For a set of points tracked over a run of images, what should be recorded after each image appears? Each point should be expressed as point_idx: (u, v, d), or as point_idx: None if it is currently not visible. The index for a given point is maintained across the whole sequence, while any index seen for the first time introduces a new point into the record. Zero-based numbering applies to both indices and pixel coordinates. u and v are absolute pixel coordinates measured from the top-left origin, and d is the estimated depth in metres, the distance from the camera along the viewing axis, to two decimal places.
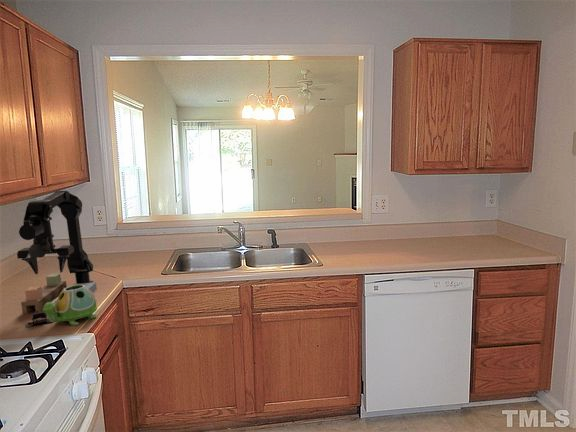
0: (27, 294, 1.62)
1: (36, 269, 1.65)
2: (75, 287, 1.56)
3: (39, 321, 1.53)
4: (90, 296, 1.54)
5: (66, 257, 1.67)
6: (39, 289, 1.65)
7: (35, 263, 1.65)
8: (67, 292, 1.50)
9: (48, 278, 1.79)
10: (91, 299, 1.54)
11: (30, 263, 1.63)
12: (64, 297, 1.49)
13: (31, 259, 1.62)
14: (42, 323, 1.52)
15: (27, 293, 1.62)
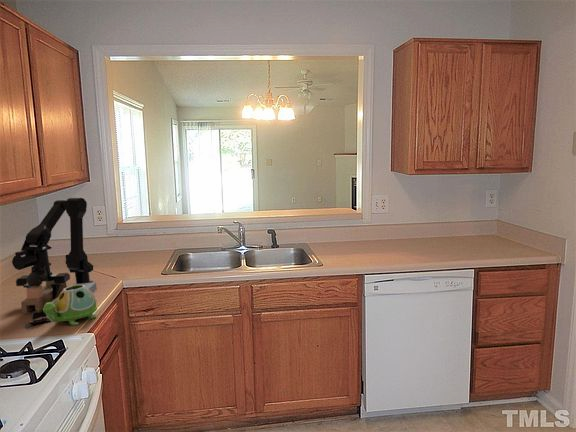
0: (28, 293, 1.63)
1: None
2: (75, 287, 1.56)
3: (39, 320, 1.53)
4: (90, 296, 1.54)
5: (59, 284, 1.75)
6: (40, 288, 1.66)
7: None
8: (67, 292, 1.50)
9: None
10: (91, 299, 1.54)
11: None
12: (64, 297, 1.49)
13: None
14: (42, 322, 1.52)
15: (28, 292, 1.63)
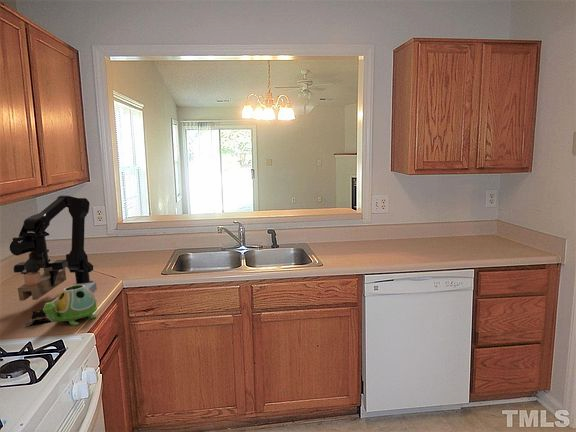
0: (25, 279, 1.63)
1: None
2: (75, 287, 1.56)
3: (38, 320, 1.53)
4: (90, 296, 1.54)
5: (57, 271, 1.74)
6: (38, 274, 1.65)
7: None
8: (67, 292, 1.50)
9: None
10: (91, 299, 1.54)
11: None
12: (64, 297, 1.49)
13: None
14: (42, 322, 1.52)
15: (25, 278, 1.62)
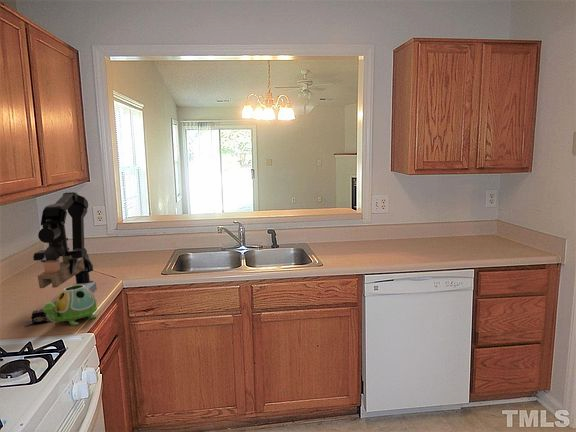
0: (45, 267, 1.62)
1: None
2: (75, 287, 1.56)
3: (38, 320, 1.54)
4: (90, 296, 1.54)
5: (76, 260, 1.74)
6: (57, 262, 1.65)
7: None
8: (67, 292, 1.50)
9: None
10: (91, 299, 1.54)
11: None
12: (64, 297, 1.49)
13: None
14: (41, 322, 1.52)
15: (45, 266, 1.62)
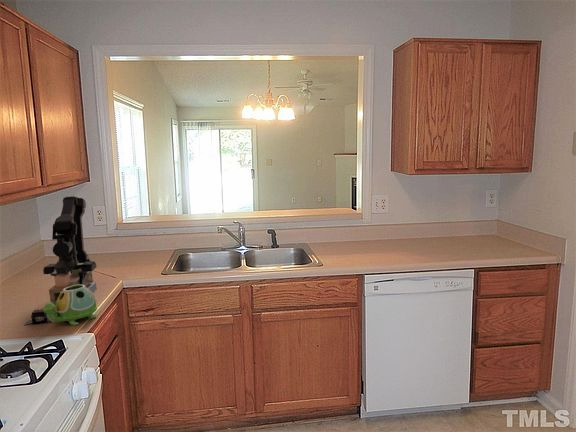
0: (56, 281, 1.64)
1: None
2: (75, 287, 1.56)
3: (38, 319, 1.54)
4: (90, 296, 1.54)
5: (86, 273, 1.75)
6: (68, 276, 1.66)
7: None
8: (67, 292, 1.50)
9: None
10: (91, 299, 1.54)
11: None
12: (64, 297, 1.49)
13: None
14: (40, 322, 1.53)
15: (56, 280, 1.64)
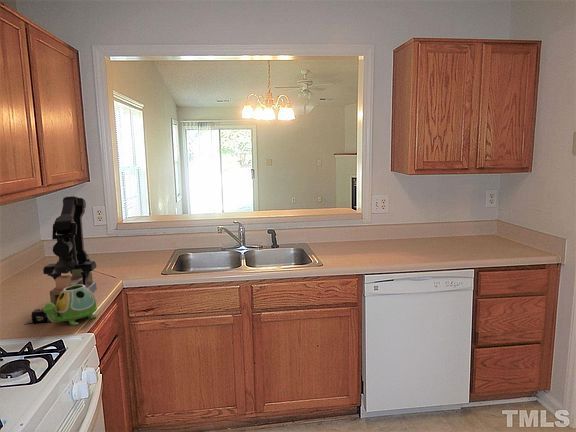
0: (57, 282, 1.64)
1: None
2: (75, 287, 1.56)
3: (39, 319, 1.54)
4: (90, 296, 1.54)
5: (89, 272, 1.75)
6: (68, 278, 1.66)
7: None
8: (67, 292, 1.50)
9: None
10: (91, 299, 1.54)
11: (55, 278, 1.71)
12: (64, 297, 1.49)
13: (56, 274, 1.71)
14: (39, 322, 1.53)
15: (57, 281, 1.64)
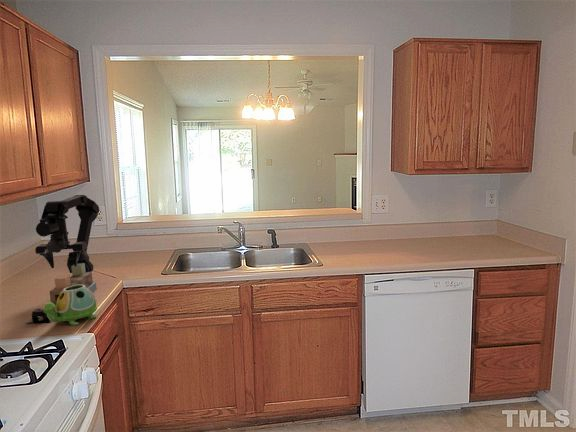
0: (56, 282, 1.64)
1: (52, 263, 1.79)
2: (75, 287, 1.56)
3: (39, 319, 1.55)
4: (90, 296, 1.54)
5: (80, 252, 1.81)
6: (68, 278, 1.66)
7: (51, 258, 1.79)
8: (67, 292, 1.50)
9: (73, 267, 1.81)
10: (91, 299, 1.54)
11: (47, 258, 1.77)
12: (64, 297, 1.49)
13: (48, 254, 1.77)
14: (39, 321, 1.53)
15: (56, 281, 1.64)
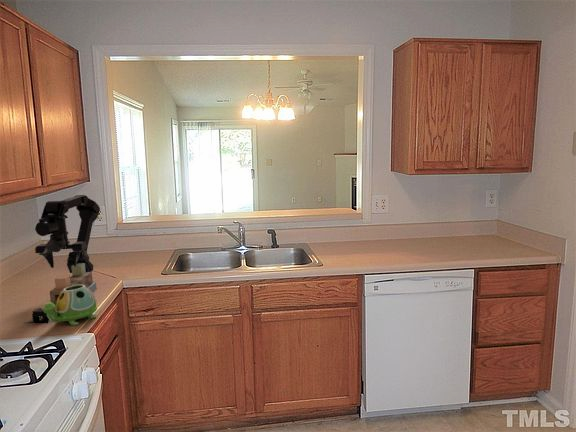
0: (56, 282, 1.64)
1: (52, 263, 1.79)
2: (75, 287, 1.56)
3: (39, 318, 1.55)
4: (90, 296, 1.54)
5: (79, 252, 1.82)
6: (68, 278, 1.66)
7: (51, 258, 1.80)
8: (67, 292, 1.50)
9: (73, 267, 1.81)
10: (91, 299, 1.54)
11: (47, 258, 1.77)
12: (64, 297, 1.49)
13: (48, 254, 1.77)
14: (39, 321, 1.53)
15: (56, 281, 1.64)
